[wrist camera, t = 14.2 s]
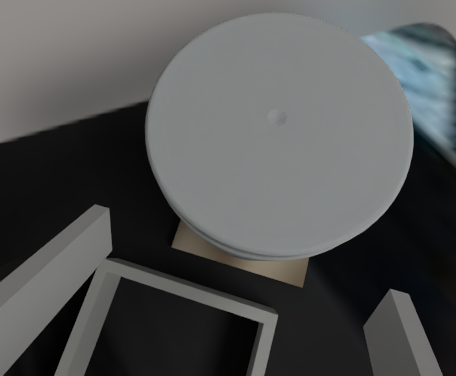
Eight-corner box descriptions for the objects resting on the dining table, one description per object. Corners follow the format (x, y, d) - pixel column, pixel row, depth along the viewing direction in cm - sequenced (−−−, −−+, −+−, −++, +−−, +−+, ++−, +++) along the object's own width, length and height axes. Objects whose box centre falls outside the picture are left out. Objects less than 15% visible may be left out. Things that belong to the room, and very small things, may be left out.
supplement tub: (175, 215, 24) (76, 143, 9) (240, 132, 25) (239, -34, 11) (269, 287, 22) (322, 333, 8) (332, 192, 23) (472, 86, 9)
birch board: (173, 247, 24) (171, 247, 23) (212, 134, 26) (211, 130, 26) (300, 286, 22) (302, 287, 22) (327, 163, 25) (330, 160, 24)
